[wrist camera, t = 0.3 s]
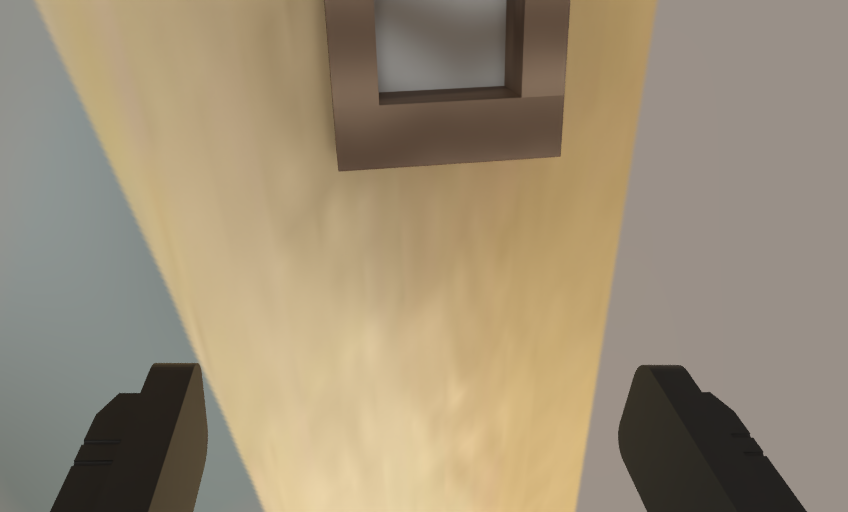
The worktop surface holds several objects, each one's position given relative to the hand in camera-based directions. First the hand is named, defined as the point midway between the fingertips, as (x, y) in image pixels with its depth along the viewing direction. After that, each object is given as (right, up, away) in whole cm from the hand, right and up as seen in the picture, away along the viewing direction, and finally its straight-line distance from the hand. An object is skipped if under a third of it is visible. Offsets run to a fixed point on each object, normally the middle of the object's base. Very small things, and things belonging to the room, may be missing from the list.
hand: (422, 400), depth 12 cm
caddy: (+1, +16, +24) cm, 28 cm away
